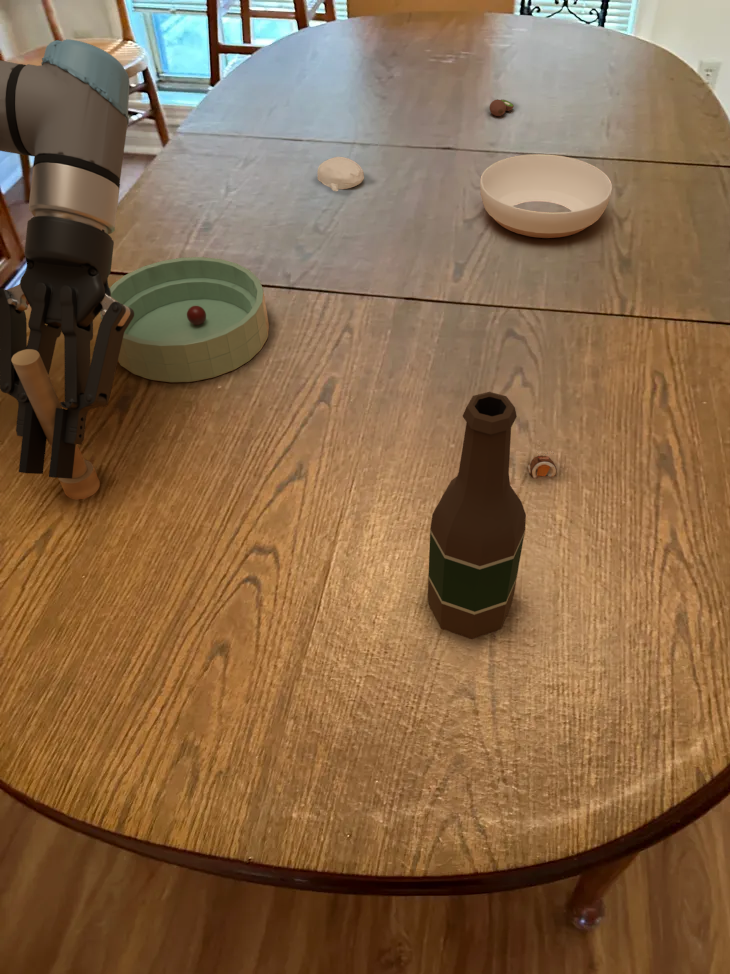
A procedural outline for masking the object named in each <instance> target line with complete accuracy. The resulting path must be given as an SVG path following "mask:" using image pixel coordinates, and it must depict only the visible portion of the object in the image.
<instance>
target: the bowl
mask: <svg viewBox="0 0 730 974" xmlns="http://www.w3.org/2000/svg"><path fill="white" fill-rule="evenodd" d="M479 189H480V190H479V191H480V197H481V200H482V204H483V207H484V210H485V211H486V212H487V215H489V216H490V217H491V218H492V219H493V220H494V221H495V222H496V223H497V224H498V225H500V226H501V227H503V228H504V229H506V230H508V231H510V232H513V233H516V234H517V235H522V236H526V237H531V238H542V239H550V238H551V239H552V238H553V239H554V238H555V239H556V238H563V237H568V236H571V235H576V234H579V233H580V232H582V231H583V230H585V229H587V228H588V227H590V226H591V225H593V224H595V223H596V222H597V221H598V220H599V219H600V218H601V217H602V215H603V213H604V212H605V210H606V209H607V207H608V205H609V202H610V198H611V195H612V193H613V183H612V182H611V180H610V177H609V176H608V175H607V174H606V173H605V172H604V171H603V170H601V169H599V168H598V167H597V166H594V165H593V164H590V163H589V162H586V161H584V160H581V159H577V158H573V157H568V156H564V155H556V154H547V153H545V154H544V153H543V154H542V153H535V154H533V153H531V154H522V155H516V156H515V155H514V156H511V157H510V156H509V157H507V158H503V159H500V160H498V161H495V162H494V163H492V164H490V165H489V166H488V167H487V168H485V169H484V170H483V172H482V173H481V176H480V179H479ZM530 202H545V203H552V204H556V205H559V206H562V207H564V208H566V209H569V210H570V211H562V212H561V211H559V212H558V211H557V212H550V211H549V212H548V211H547V212H546V211H535V210H529V209H524V208H521V207H520V208H519V207H516V206H517V205H519V204H523V203H524V204H525V203H530Z"/></svg>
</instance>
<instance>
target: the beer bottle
mask: <svg viewBox="0 0 730 974" xmlns="http://www.w3.org/2000/svg"><path fill="white" fill-rule="evenodd" d="M517 417H518V416H517V411H516V406H515V405H514V403H512V401H511V400H510V398H509V397H508V396H507V395H505V394H504V395H503V394H499V393H495V392H492V391H486V392H483V393H478V394H474V395H472V397H471V398H470V400H469V402H468V403H467V405H466V407H465V410H464V412H463V414H462V418H463V419H464V421H465V422H466V424H465V429H464V436H463V442H462V448H461V455H460V461H459V466H458V472H457V475H456V476H455V477H454V478H452V479H451V480H450V481H449V484H447V487H446V489H445V490H444V492H443V494H442V496H441V498H440V500H439V501H438V503H437V505H436V507H435V509H434V511H433V512H432V515H431V520H430V521H431V522H430V529H429V549H428V550H429V551H428V552H429V553H428V575H427V576H428V578H427V604H428V606H429V608H430V611H431V612H432V614H433V616H434V618H435V620H436V622H437V624H438V626H439V628H440V629H441V630H444V631H447V632H450V633H453V634H455V635H458V636H461V637H464V638H466V639H470V640H473V639H476V638H479V637H483V636H485V635H488V634H491V633H493V632H497V631H499V630H502V629H503V625H504V623H505V620H506V618H507V616H508V614H509V611H510V608H511V606H512V603H513V600H514V596H515V590H516V585H517V579H518V573H519V569H520V563H521V555H522V550H523V545H524V538H525V533H526V522H527V521H526V520H527V514H526V511H525V508H524V506H523V502H522V500H521V499H520V497H519V496H518V494H517V493H516V491H515V490H514V489H513V487H512V485H511V482H510V481H511V480H510V459H511V457H510V455H511V437H512V427H513V425H514V424H515V421H516V419H517Z"/></svg>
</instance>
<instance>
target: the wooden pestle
mask: <svg viewBox="0 0 730 974" xmlns="http://www.w3.org/2000/svg"><path fill="white" fill-rule="evenodd" d="M11 361H12V363H13V365H14V368H15V370H16V372H17V374H18V376H19V379H20V381H21V383H22V385H23V387H24V390H25V392H26V394H27V396H28V398H29V401H30V403H31V405H32V407H33V409H34V412H35V414H36V416H37V418H38V420H39V423H40V425H41V427H42V429H43V431H44V434H45V436H46V438H47V442H48V445H49V447H50V449H51V450H52V442H53V432H54V423H55V413H56V408H61V409H63V407H62V406H61V404H60V402H61V401H60V399H59V397H58V395H57V392H56V390H55V387H54V385H53V383H52V380H51V378H50V376H49V375H50V374H49V375H48V373H47V371H46V368H45V366H44V363H43V361H42V359H41V356H40V354H39V352H38V351H36V350H33V349H26V350H22V351H19V352H17V353H16V354H14V355H13V357H12V359H11ZM57 479H58V481H59V483H60V487H61V488H62V490H63V492H64V494H65V496H66V497H67V498H69V499H72V500H83V499H88V498H90V497H92V496H93V495H94V494H96V493H97V492H98V490H99V489H100V486H101V481H100V479H99V476H98V474H97V472H96V469H95V467H94V465H93V463H92V462H91V461H90V460H87V459H84V457H83V455H82V452H81V450H80V447H79V445H78V444H76V447H75V457H74V466H73V475H72V478H57Z"/></svg>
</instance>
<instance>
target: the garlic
mask: <svg viewBox="0 0 730 974" xmlns="http://www.w3.org/2000/svg"><path fill="white" fill-rule="evenodd" d="M316 173H317V174H316V175H317V180H318V182H319V183H322V185H324V186H325V187H328V188H330V190H331V191H333V192H338V191H339V190H348V189H351V188H354V187H357V186H358V185H360V184H362V182H363V181H364V179H365V175H364V174H365V173H364V169H362V167H361V166H360V164H359V163H357V162H356V161H354V160H352V159H351V158H348V157H344V156H334V157H331V158H329V159H327V160H324V161H323V162H321V163H320V164H319V166H318V168H317V172H316Z"/></svg>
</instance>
